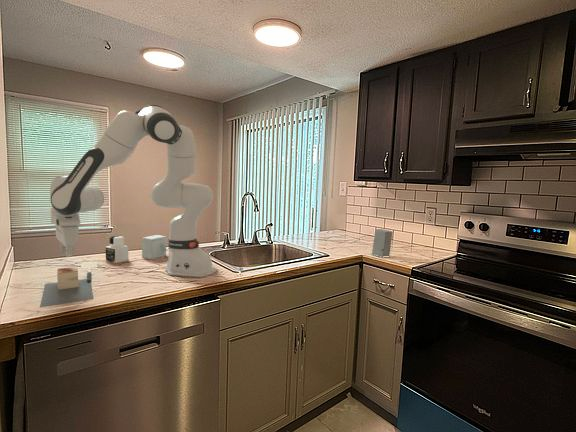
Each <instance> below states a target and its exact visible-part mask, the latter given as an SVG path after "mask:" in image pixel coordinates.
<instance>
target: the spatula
mask: <svg viewBox="0 0 576 432" xmlns="http://www.w3.org/2000/svg"><path fill="white" fill-rule="evenodd" d="M90 268H92V269H93V268H98V261H89V262H81V266H80V269H81V270H83V269H87V271H88V272H87V273H86V275H87V276H86V279H87V281H88V282H90V281H91V282H92V271H91V269H90Z"/></svg>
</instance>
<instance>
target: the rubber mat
mask: <svg viewBox="0 0 576 432" xmlns="http://www.w3.org/2000/svg"><path fill="white" fill-rule="evenodd" d="M92 286H93V285H92V280H91V281H90V282H88V281H87V278H82V279H78V287H75V288H67V289H59V290H58V281H57V282H49V283H44V287H43V292H42V295H41V296H42V297H41V301H40V305H39V308H43V307H50V306H58V305H65V304H70V303H71V304H72V303H77V302H83V301H84V302H85V301H90V300H94V299H95V298H94V293H93V287H92Z"/></svg>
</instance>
